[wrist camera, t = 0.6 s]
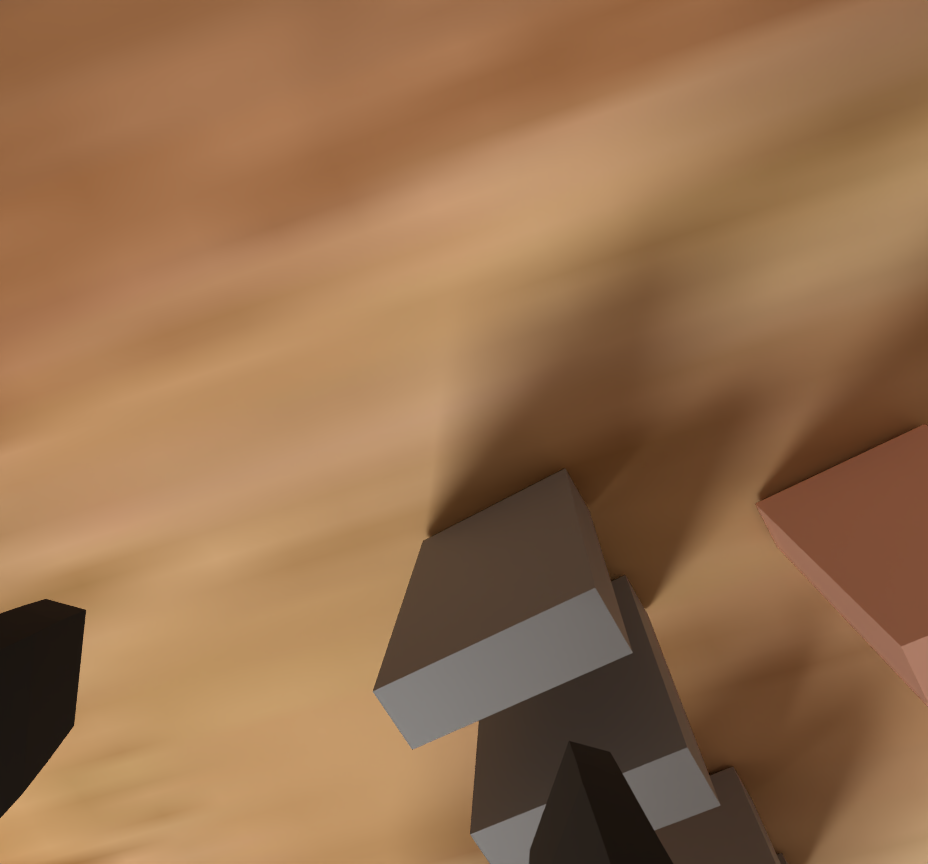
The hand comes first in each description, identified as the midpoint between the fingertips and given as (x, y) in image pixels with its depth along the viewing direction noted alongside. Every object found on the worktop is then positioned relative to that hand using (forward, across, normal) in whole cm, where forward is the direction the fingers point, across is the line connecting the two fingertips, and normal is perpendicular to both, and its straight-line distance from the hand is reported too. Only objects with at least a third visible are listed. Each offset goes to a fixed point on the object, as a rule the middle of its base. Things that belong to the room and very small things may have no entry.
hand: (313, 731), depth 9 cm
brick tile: (+10, -12, -4) cm, 16 cm away
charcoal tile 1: (+10, -3, 0) cm, 10 cm away
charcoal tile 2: (+10, -5, +3) cm, 12 cm away
